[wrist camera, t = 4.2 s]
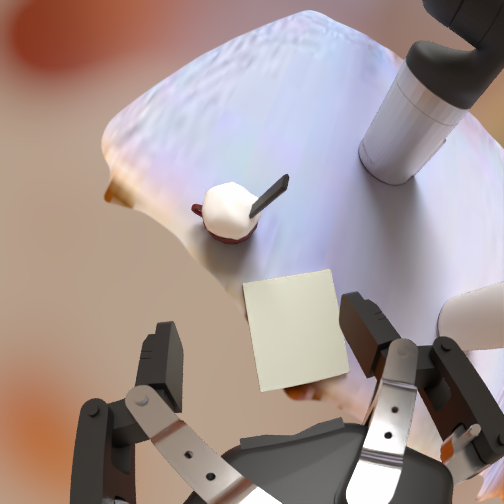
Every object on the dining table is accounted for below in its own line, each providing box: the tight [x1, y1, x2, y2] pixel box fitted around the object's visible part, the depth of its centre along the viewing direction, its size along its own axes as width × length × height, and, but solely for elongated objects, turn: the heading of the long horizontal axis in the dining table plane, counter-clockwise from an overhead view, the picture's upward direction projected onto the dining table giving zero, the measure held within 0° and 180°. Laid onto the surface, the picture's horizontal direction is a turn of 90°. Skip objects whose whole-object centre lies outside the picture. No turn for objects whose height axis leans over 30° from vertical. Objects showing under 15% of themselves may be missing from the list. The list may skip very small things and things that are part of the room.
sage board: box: [243, 269, 350, 392], centre depth 29 cm, size 10×12×1 cm
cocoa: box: [191, 174, 289, 244], centre depth 28 cm, size 10×6×12 cm, turn 54°
